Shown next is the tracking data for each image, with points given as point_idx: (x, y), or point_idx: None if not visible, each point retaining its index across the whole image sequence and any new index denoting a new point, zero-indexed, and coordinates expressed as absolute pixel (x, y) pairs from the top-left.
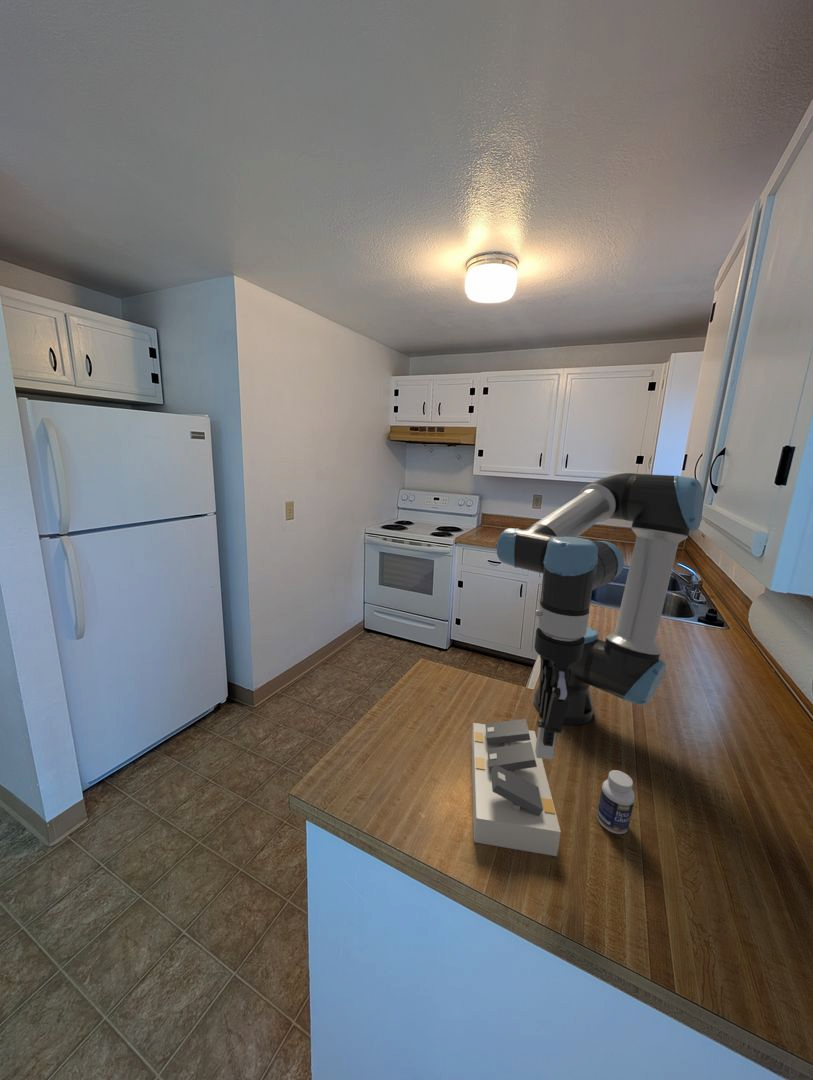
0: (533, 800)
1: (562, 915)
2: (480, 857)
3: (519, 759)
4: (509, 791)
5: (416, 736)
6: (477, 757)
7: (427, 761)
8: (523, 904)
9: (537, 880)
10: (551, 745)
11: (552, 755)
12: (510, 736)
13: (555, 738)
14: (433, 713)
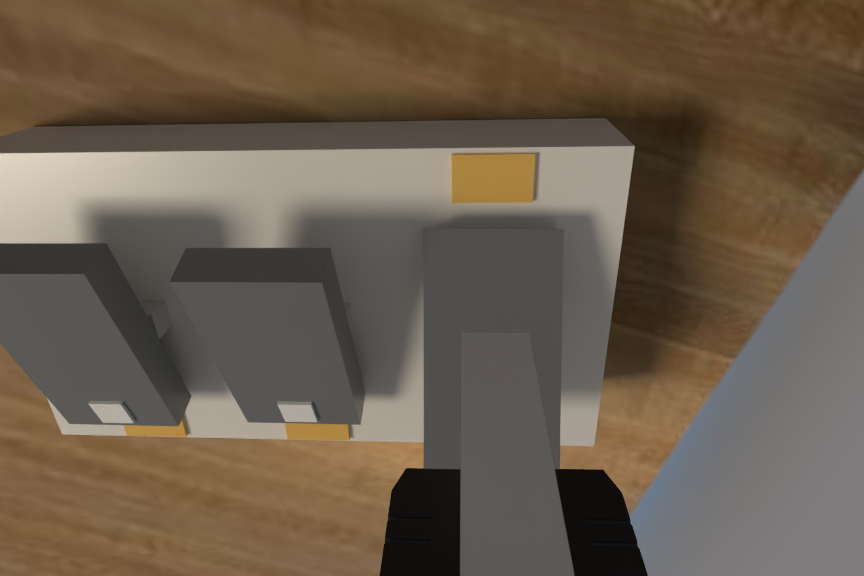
0: (537, 278)
1: (824, 143)
2: (627, 365)
3: (318, 337)
4: (560, 410)
5: (184, 530)
6: (282, 429)
7: (286, 499)
8: (778, 260)
9: (701, 205)
10: (609, 487)
11: (533, 360)
12: (133, 345)
13: (554, 481)
14: (30, 491)
